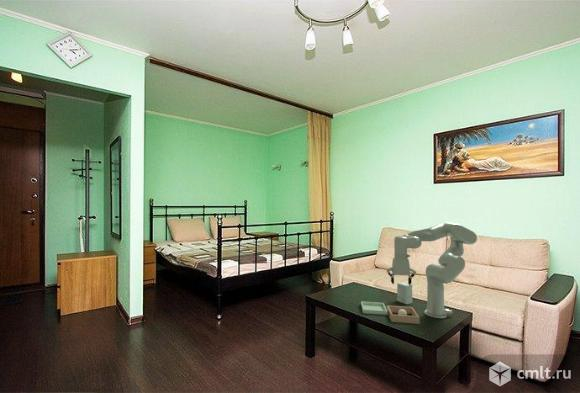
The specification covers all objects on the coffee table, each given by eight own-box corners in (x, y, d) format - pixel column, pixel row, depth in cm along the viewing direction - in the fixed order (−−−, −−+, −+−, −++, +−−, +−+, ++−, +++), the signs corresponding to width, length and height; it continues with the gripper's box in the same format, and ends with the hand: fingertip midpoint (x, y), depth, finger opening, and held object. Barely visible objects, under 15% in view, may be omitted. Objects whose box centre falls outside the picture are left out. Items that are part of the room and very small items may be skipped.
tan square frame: (412, 313, 177) (412, 307, 178) (419, 323, 162) (419, 317, 162) (386, 311, 180) (386, 305, 180) (391, 321, 165) (391, 314, 165)
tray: (383, 306, 189) (383, 302, 189) (387, 315, 174) (387, 311, 174) (361, 304, 191) (361, 301, 191) (362, 313, 176) (363, 309, 177)
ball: (405, 316, 173) (405, 308, 173) (407, 319, 168) (407, 311, 168) (397, 315, 174) (397, 307, 174) (398, 318, 169) (399, 310, 169)
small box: (412, 303, 196) (412, 284, 197) (406, 304, 193) (406, 285, 194) (402, 299, 203) (402, 281, 204) (397, 301, 200) (397, 282, 201)
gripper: (414, 255, 174) (414, 283, 174) (385, 254, 178) (385, 281, 178) (417, 258, 167) (417, 286, 167) (387, 257, 171) (387, 285, 170)
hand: (401, 284), depth 172 cm, fingers open, 9 cm apart
